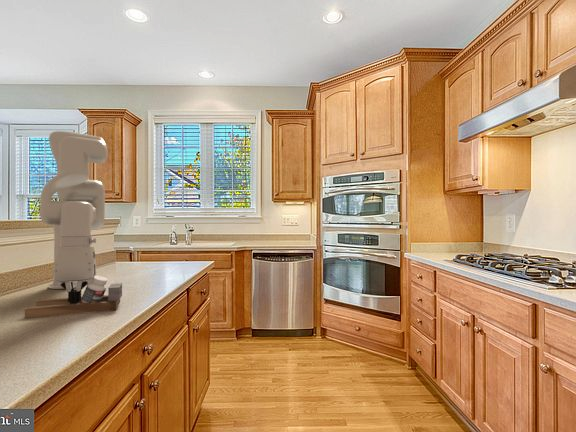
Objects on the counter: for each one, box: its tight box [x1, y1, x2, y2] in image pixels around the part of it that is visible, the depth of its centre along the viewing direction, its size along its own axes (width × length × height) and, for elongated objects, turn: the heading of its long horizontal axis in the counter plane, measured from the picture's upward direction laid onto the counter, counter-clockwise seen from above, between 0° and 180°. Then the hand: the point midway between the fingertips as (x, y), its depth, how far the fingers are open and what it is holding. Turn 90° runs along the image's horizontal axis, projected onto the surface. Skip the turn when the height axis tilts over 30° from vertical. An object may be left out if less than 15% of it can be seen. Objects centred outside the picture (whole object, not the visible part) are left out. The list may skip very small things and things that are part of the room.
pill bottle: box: [80, 275, 108, 303], centre depth 95 cm, size 5×5×9 cm
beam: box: [24, 282, 123, 319], centre depth 94 cm, size 10×23×6 cm, turn 111°
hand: (74, 304), depth 92 cm, fingers closed
